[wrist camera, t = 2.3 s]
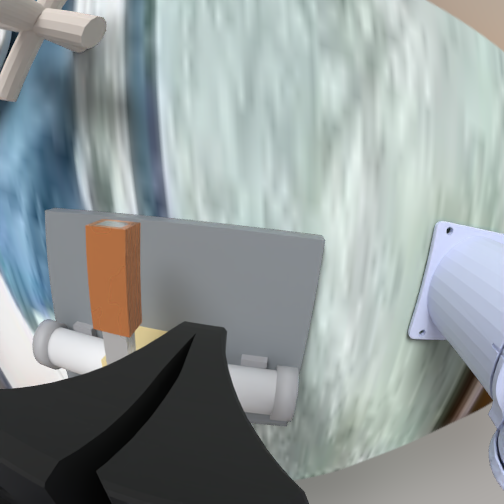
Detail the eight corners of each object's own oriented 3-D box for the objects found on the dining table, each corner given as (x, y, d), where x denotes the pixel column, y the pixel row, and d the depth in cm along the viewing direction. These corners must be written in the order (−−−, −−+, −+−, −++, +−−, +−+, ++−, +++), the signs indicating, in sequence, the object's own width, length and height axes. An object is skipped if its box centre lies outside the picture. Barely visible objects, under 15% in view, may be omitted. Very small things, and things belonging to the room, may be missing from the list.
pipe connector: (100, 127, 18) (-19, 116, 8) (15, 89, 17) (-82, 78, 7) (175, -5, 15) (106, -93, 5) (75, -21, 14) (-2, -70, 5)
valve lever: (157, 424, 15) (147, 445, 14) (118, 414, 15) (107, 433, 14) (147, 223, 12) (128, 232, 11) (97, 218, 12) (74, 226, 11)
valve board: (322, 235, 18) (342, 270, 12) (286, 415, 22) (285, 479, 16) (55, 207, 19) (-8, 226, 13) (75, 371, 23) (37, 415, 17)
